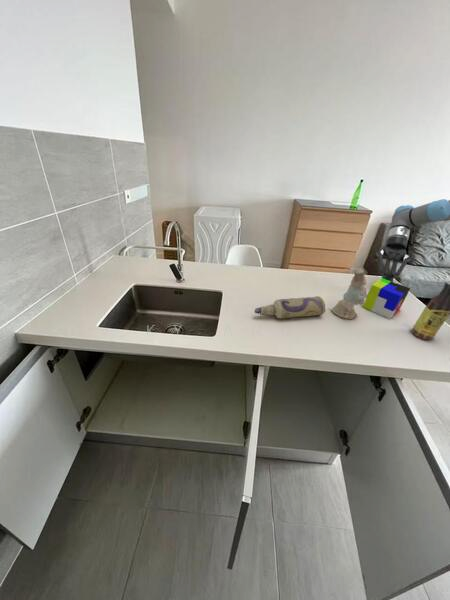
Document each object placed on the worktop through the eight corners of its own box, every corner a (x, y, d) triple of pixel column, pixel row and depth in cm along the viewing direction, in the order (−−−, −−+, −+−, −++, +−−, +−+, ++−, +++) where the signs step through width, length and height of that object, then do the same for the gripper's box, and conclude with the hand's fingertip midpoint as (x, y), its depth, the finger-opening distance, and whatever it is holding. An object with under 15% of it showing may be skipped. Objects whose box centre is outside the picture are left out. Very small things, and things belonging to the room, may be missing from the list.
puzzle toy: (389, 318, 91) (400, 295, 86) (362, 306, 98) (371, 284, 92) (399, 310, 97) (410, 288, 92) (373, 299, 103) (382, 278, 98)
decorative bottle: (313, 307, 96) (317, 292, 92) (323, 318, 89) (328, 303, 86) (250, 311, 91) (252, 296, 87) (256, 323, 85) (259, 308, 81)
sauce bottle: (418, 340, 81) (450, 288, 71) (407, 328, 86) (435, 278, 76) (437, 341, 81) (472, 289, 71) (425, 329, 86) (456, 280, 76)
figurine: (338, 320, 89) (356, 270, 78) (328, 307, 96) (344, 260, 85) (361, 320, 89) (382, 271, 79) (350, 308, 96) (368, 261, 86)
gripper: (382, 232, 103) (369, 283, 99) (419, 238, 98) (406, 291, 94) (377, 241, 110) (364, 289, 105) (411, 247, 105) (399, 297, 101)
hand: (384, 290), depth 100 cm, fingers closed
